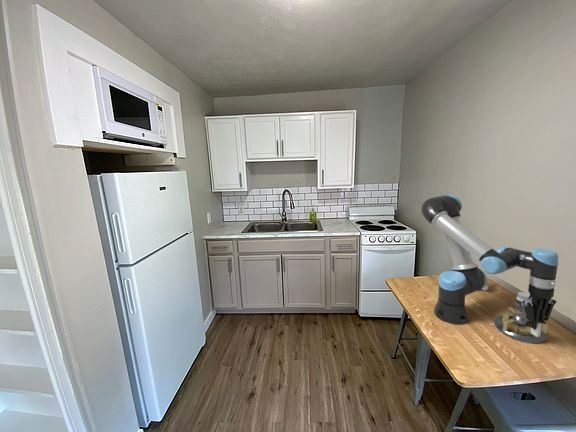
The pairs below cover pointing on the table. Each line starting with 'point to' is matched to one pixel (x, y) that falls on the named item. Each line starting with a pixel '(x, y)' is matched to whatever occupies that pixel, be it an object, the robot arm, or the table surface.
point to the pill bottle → (521, 302)
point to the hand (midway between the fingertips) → (535, 334)
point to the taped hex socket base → (510, 325)
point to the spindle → (520, 319)
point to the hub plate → (518, 336)
